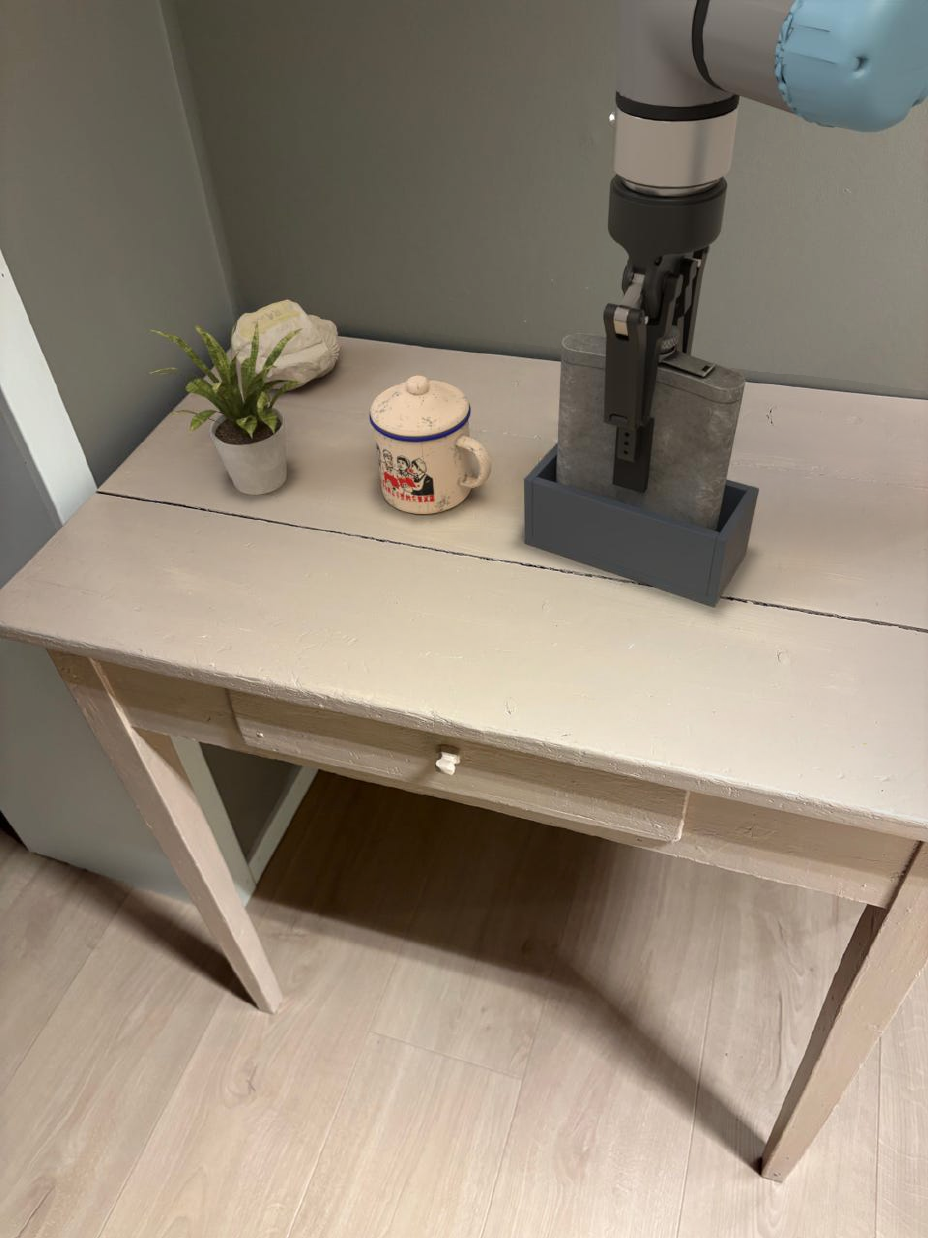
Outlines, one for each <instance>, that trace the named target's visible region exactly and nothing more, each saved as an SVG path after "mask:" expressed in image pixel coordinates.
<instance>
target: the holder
mask: <svg viewBox="0 0 928 1238" xmlns="http://www.w3.org/2000/svg"><path fill="white" fill-rule="evenodd" d="M557 445H558V441H557V442H556V443H555V444H554V445H553V447H551V449H550V450H549V451H548V452H547V453H546V454H545V455H544V457H542V459H541V460H540V461H539V462H538V463H537V464H536V465H535V466H534V467H533V468H532V469H531V471H530V472H529V473H528V474H527V475H526V476H525V477H524V478H523V501H524V503H523V508H524V509H523V514H524V515H523V517H524V519H523V520H524V521H523V523H524V525H523V526H524V529H523V530H524V544H526V545H529V546H532V547H535V548H538V549H541V550H543V551H546V552H549V553H552V554H556V555H557V556H561V557H564V558H567V559H570V560H573V561H576V562H579V563H582V564H585V565H587V566H590V567H593V568H596V569H600V570H602V571H605V572H609V573H612V574H614V575H618V576H620V577H623V578H627V579H630V580H632V581H636V582H638V583H641V584H645V585H647V586H650V587H653V588H657V589H659V590H661V591H665V592H668V593H671V594H674V595H677V596H680V597H682V598H685V599H689V600H692V601H695V602H697V603H700V604H704V605H706V606H709V607H712V608H715V607H716V605H717V604H718V602H719V600H720V598H721V597H722V595H723V594H724V592H725V590H726V588H727V587H728V586H729V584H730V582H731V580H732V579H733V577H734V575H735V573H736V571H737V570H738V569H739V567H740V566H741V563H742V562H743V560H744V558H745V557H746V556H747V551H748V547H749V542H750V536H751V531H752V527H753V522H754V517H755V511H756V507H757V502H758V497H759V491H760V488H759V487H755V486H752V485H749V484H745V483H741V482H737V481H734V480H731V479H726V484H725V489H724V494H723V499H722V504H721V509H720V515H719V520H718V525H717V530H716V531H713V530H710V529H707V528H703V527H700V526H697V525H693V524H690V523H687V522H684V521H680V520H677V519H674V518H670V517H667V516H664V515H660V514H657V513H654V512H651V511H647V510H644V509H641V508H637V507H634V506H631V505H628V504H624V503H621V502H618V501H614V500H611V499H608V498H605V497H601V496H598V495H595V494H591V493H588V492H585V491H581V490H578V489H575V488H572V487H568V486H565V485H562V484H558V483H556V469H557Z"/></svg>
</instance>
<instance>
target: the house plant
mask: <svg viewBox="0 0 928 1238" xmlns="http://www.w3.org/2000/svg"><path fill="white" fill-rule="evenodd" d="M237 321H238V320H236V321H235V323H234V324H233V327H232V329H231V334H230V335H231V336H230V353H231V357H232V359H231V362H230V359H229V357H228V355H227V353H226V351H225V350H224V348H223V347H222V346H221V344H220V343H219V342H218V341H217V340H216V339H215V338H214V337H213V336H212V335H211V334H210V333H208V332H207V331H205V330H204V329H203V328H201V326H199V325H197V324H194V325H195V326H194V328H195V330H196V331H197V332H198V334H199V335H200V337H201V338H202V340H203V342H204V344H205V347H206V349H207V352H208V356H209V358H210V359H211V362H212V364H213V366H214V367H215V370H216V371H217V373H218V375H219V377H220V379H221V381H220V380H219V379H218V378H217V376H215V374H214V373H213V372H212V371H211V370H210V369H209V368H208V366H207V365H206V364H205V363H204V362H203V360H202V359H201V358H200V357H199V356H198V355H197V353H196V352H195V351H194V350H193V349H192V348H191V346H190V345H189V344H187V343H186V342H185V341H184V340H182V339H181V338H179V337H177V336H175V335H173V334H169V333H167V332H164V331H160V330H152V329H149V332H153V333H156V334H158V335H160V336H163V337H165V338H168V339H169V340H170V341H172V342H174V343H175V344H176V345H178V346H179V348H181V349H182V350H183V351H184V352H185V353H186V355H187V356H188V357H189V358H190V359H191V361H192V362H193V363H194V364H195V365H196V366H197V367H198V368H199V369H200V370H201V371H202V372H203V373H204V374H205V375H206V377H208V379H209V380H210V381H211V383H210V382H208V381H207V380H206V379H204V378H202V377H200V376H199V375H198V374H196V373H193V372H191V371H187V370H184V369H181V368H177V367H164V368H159V369H155V370H153V371H152V372H149V373H148V375H151V374H154V373H157V372H161V373H158V374H156V375H155V377H158V376H161V375H167V374H168V375H169V374H171V375H172V374H173V375H179V376H181V377H183V378H185V379H187V380H189V382H188V384H187V385H186V386H185V388H184V390H185V391H186V392H188V393H192V394H195V395H197V396H201V397H203V398H206V400H208V401H209V402H210V403H211V404H213V406H215V407H216V408H217V410H219V411H217V410H215V409H205V410H202V411H201V412H198V413H197V412H195V411H191V410H188V409H180V410H175V411H172V412H170V413H168V414H167V416H171V415H175V414H181V413H185V414H186V413H187V414H193V415H194V416H193V417H192V418H191V421H190V429H189V436H190V437H191V435H192V433H193V432H194V431H196V430H197V429H199V428H200V427H201V426H202V425H203V424H205V423H206V422H207V420H210V421H212V423H211V425H210V427H209V434H210V437H211V439H212V441H213V443H214V446H215V447H216V450H217V452H218V454H219V456H220V458H221V460H222V463H223V464H224V466H225V468H226V471H227V472H228V474H229V477H230V479H231V481H232V484H233V485H234V487H235V489H236V490H237V491H238V492H241V493H242V494H246V495H250V496H251V495H252V496H259V495H264V494H268V493H271V492H274V491H276V490H278V489H279V488H281V487H282V486H283V485H284V484H285V482H286V480H287V478H288V477H287V476H288V475H287V474H288V473H287V441H286V438H287V436H286V435H287V434H286V417H285V416H284V414H283V413H282V412H281V411H280V410H279V409H277V408H275V407H274V405H275V403H276V401H277V400H278V399H279V398H280V397H281V396H282V395H283V394H284V393H285V392H287V391H289V390H288V389H289V388H291V387H292V386H294V385H296V384H302V383H299V381H293V380H288V379H282V380H274V381H270V382H267V383H264V381H265V379H266V376H267V374H268V372H269V370H270V368H275V367H276V366H274V365H273V364H274V362H275V361H276V360H277V358H278V357H279V356H280V354H281V353H282V351H283V349H284V347H285V345H286V343H287V342H288V341H289V340H290V339H291V338H292V337H293V336H295V335H296V334H297V333H298V332H299V331H300V330H302V329H304V328H302V329H298V330H296V331H293V332H291V333H289V334H288V335H287V336H285V337H284V338H283V339H282V340H281V341H280V342H279V343H278V344H277V346H276V347H275V348H274V350H273V351H272V352H271V354H270V355H269V357H268V358H267V360H266V362H265V364H264V366H263V368H262V371H261V372H260V373H259V374H257V375H256V376H255V368H256V361H257V356H258V349H259V330H258V322H257V323H256V326H255V332H254V337H253V340H252V347H251V356H250V358H246V359H245V360H244V361H243V362H242V364H240V381H241V389H240V385H239V384H240V383H239V374H238V369H237V354H238V353H239V352H240V351H241V350H242V349H243V347H242V348H241V349H240V351H239V352H238V353H237V354H234V357H233V346H232V336H233V333H234V332H235V329H236V325H237ZM169 370H177V371H183V372H186V373H188V374H191V375H193V376H194V377H195V379H191V378H189V377H187V376H185V375H182V374H180V373H177V372H163V371H169ZM162 372H163V373H162ZM287 381H292V382H288V383H286V384H284V385H283V386H282V387H281V388H280V389H277V391H276V392H275V393H274V396H273V397H272V398H271V396H270V394H269V393H270V391H271V389H273V388H272V387H273V386H274V385H276V384H278V383H282V382H287ZM241 391H242V393H241ZM216 413H218V414H219V415H218V416H217V417H216V418H215V419H212V418H211V417H212V416H214V415H215V414H216Z"/></svg>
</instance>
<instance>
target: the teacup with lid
mask: <svg viewBox="0 0 928 1238" xmlns="http://www.w3.org/2000/svg"><path fill="white" fill-rule="evenodd" d="M471 413H472V408H471V404H470V402H469V400H468V397H467V396H466V395H465V394H464V392H463V391H462V390H460V389H459V388H458V387H456V386H455V385H452V384H449V383H447V382H445V381H444V382H443V381H439V380H433V379H428V378H427V377H425V376H423V375H413V376H410V377H409V378H408V379H407V380H406V381H404V382H401V383H398V384H394V385H392V386H390V387H389V388H387V389H385V390H383V391H382V392H381V393H380V394H379V395H377V396H376V397H375V399H374V400H373V402H372V404H371V406H370V410H369V422H370V424H371V426H372V427H373V433H374V434H373V435H374V441H375V442H374V443H375V448H376V456H377V463H378V472H379V479H380V485H381V492H382V495H383V497H384V499H385V500H386V501H387V502H388V504H389V505H391V506H392V507H394V508H396V509H398V510H400V511H401V512H405V513H408V514H409V513H410V514H414V515H415V514H416V515H431V514H437V513H441V512H442V513H443V512H445V511H448V510H451V509H453V508H455V507H456V506H458V505H460V504H461V503H462V502H464V500H465V499H466V498H467V497H468V495H470V493H471V490H472V489H473V488H478V487H481V485H483V484H484V483H485V482H486V481H487V480H488V479H489V477H490V475H491V472H492V459H491V457H490V454H489V452H488V450H487V449H486V447H484V445H482V443H481V442H479V441H478V440H476V439H473V438H472V437H470V421H469V419H470V417H471ZM471 454H472V455H473V456H474V457H475V459H476V460H477V462H478V465H479V473H478V476H472V460H471V459H472V458H471V457H472V456H471Z"/></svg>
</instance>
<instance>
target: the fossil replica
mask: <svg viewBox="0 0 928 1238" xmlns="http://www.w3.org/2000/svg"><path fill="white" fill-rule="evenodd" d="M236 321H237V322H236V325H235V329H234V331H233V336H232V350H233V352H234V355H236V354H237V353H238V352H239V351H240V349H241V348H242V347H243V349H242V350H241V351H240V352H239V353H238V354H237V357H236V359H237V360H238V363H239V364H240V365H241V364H242V362H243V361H244V360H245V359H246V358H250V356H251V347H252V340H253V337H254V332H255V326H256V323H257V322H258V330H259V349H258V356H257V361H256V368H255V376H256V375H257V374H259V373H260V372H261V371H262V368H263V366H264V364H265V362H266V360H267V358H268V357H269V355H270V354H271V352H272V351H273V350H274V348H275V347H276V346H277V344H278V343H279V342H280V341H281V340H282V339H283V338H284V337H285V336H287V335H288V334H289V333H291V332H293V331H296V330H298V329H302V328H304V329H302V330H300V331H299V332H298V333H297V334H296V335H295V336H293V337H292V338H291V339H290V340H289V341H288V342H287V343H286V345H285V347H284V349H283V351H282V353H281V354H280V356H279V357H278V358H277V360H276V361H275V362H274V364H273V365H274V366H276V367H275V368H270V370H269V372H268V374H267V376H266V379H265V381H264V383H263V384H265V383H267V382H270V381H274V380H282V379H288V380H293V381H299V383H302V384H296V385H294V386H292V387H291V388H289V389H288V390H287V391H293V390H295V389H296V388H301V387H302V386H305V385H306V384H307V383H309V382H311V381H313V380H317V379H318V378H323V377H324V376H325V375H328V374H329V372H331V371H332V370H333V369H334V368H335V366H336V362H337V361H338V360H339V356H340V353H341V352H340V349H341V346H340V345H339V340H338V339H339V337H338V336H339V332H338V327H337V326H336V324H335V323H334V322H333V321H331V320H329V319H323V318H322V319H321V318H320V317H319V316H318V315H313V314H307V313H306V312H305V311H304V310H303V308H302V306H301V305H300V304H299V303H297V302H296V301H292V300H290V299H284V300H280V301H277V302H274V303H270V304H269V305H266V306H263V307H261V308H259V309H258V310H257V311H253V312H245V313H243V314H242V315H241V316H240V317H239V318H238V319H237V320H236ZM288 382H292V381H287V382H282V383H278V384H276V385H274V386H273V387H272V388H271V389H274V390H279V389H280V388H281V387H282V386H283V385H284V384H286V383H288Z"/></svg>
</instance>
